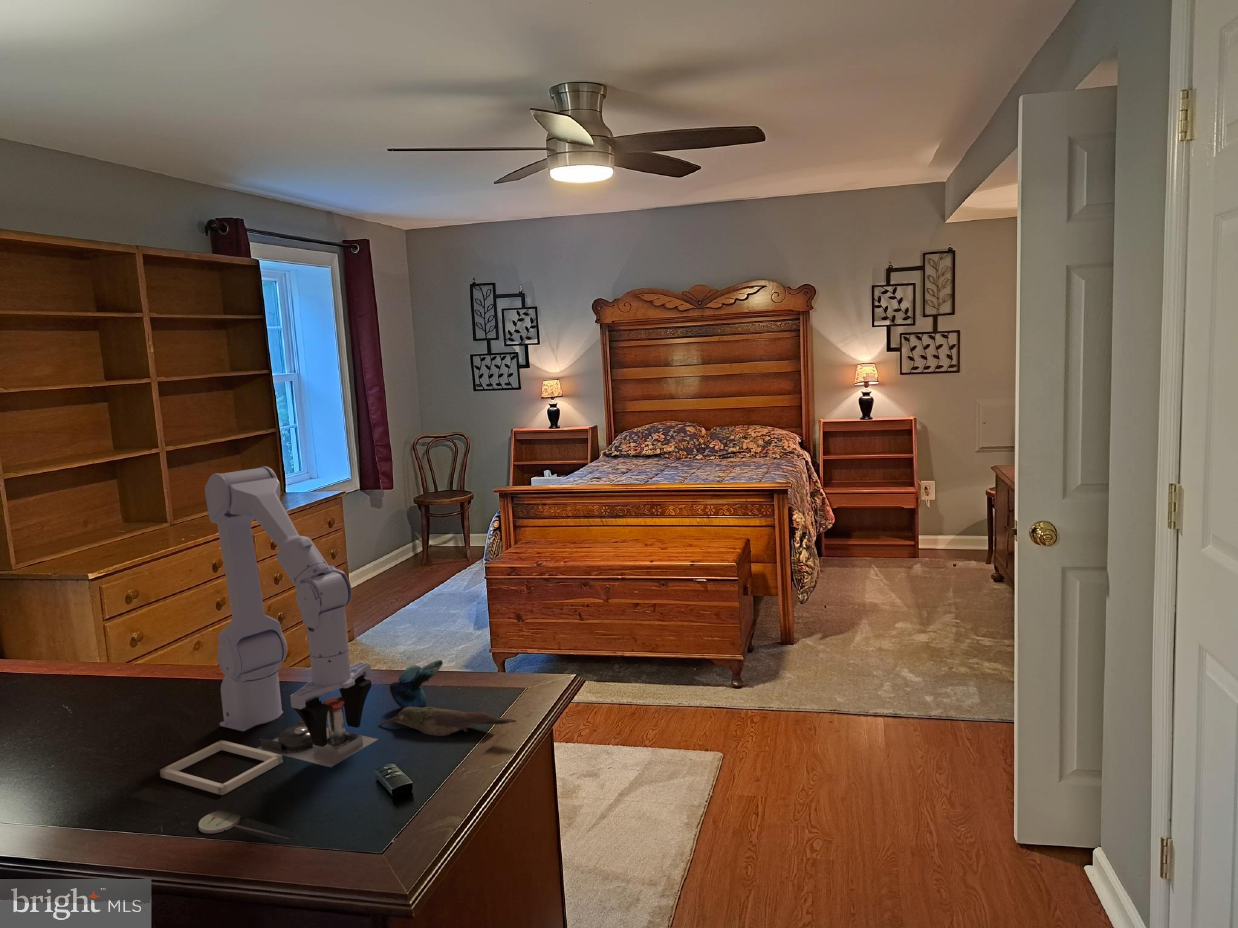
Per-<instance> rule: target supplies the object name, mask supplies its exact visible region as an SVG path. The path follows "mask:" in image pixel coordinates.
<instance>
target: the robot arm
mask: <svg viewBox="0 0 1238 928" xmlns="http://www.w3.org/2000/svg"><path fill="white" fill-rule="evenodd" d="M204 495H205V501H206V507H207V513H208V516H209V521H210V522H211V523H214V524H217V530H218V536H219V543H220V550H221V554H222V555H221V556H222V561H223V568H224V573H225V574H224V575H225V581H226V586H227V591H228V592H227V593H228V599H229V605H230V611H231V617H232V618H231V620H230V621H229V623H227V625H226V626H225V627H224V628H223V629H222V630H221V631H220V632H219V634H218V635H217V640H218V647H217V648H218V650H217V662H218V665H219V669H220V671H221V673H223V675H224V678H223V679H222V682H221V684H220V695H221V706H222V714H223V721H221V722H220V723H219V726H220V727H223V728H228V729H231V730H235V731H239V732H245V731H247V730H249V729H252V728H253V727H256V726H258V725H262V724H263V725H264V724H267V723H269V722H272V721H275V720H276V719H278V718H279V717H281V715H282V714H283V713H284V711H283V710H282V709H283V708H282V700H281V699H282V697H281V690H280V689H281V688H280V680H279V670H280V669H282V667H283V666H282V663H284V662H285V660H286V658H287V655H288V643H287V641H286V638H285V636H284V633H283V631H282V627H281V623H280V621H278V620H277V619H275V618H273V617H271V616H269V615H267V614H265V607H264V600H263V594H262V587H261V582H260V574H259V570H258V561H257V557H256V549H255V543H254V537H253V531H252V524H253V522H254V520H255V521H256V522H257V523H258V524H259V525H260V527H261V528H262V529H263V530H264V531H265V532H266V534H267V535H268V536H269V537H270V538H271V540H272V541H273V543H274V544H275V545H276V546H277V548H278V550H277V553H276V560H277V561H278V562H279V564H280V566H281V567H282V568H283V570H284V571H285V573H286V575H287V577H289V579H290V581H291V583H292V584H293V585H294V588H295V589H296V594H295V599H296V604H297V607H298V609H299V611H300V613H301V619H302V623H303V625H304V626H305V627H306V628H307V629H306V630H307V641H308V651H309V659H310V661H309V662H310V672H311V679H310V681H308V682H307V683H306V684H305V685H303V686H302V687H301V688H300V689H298V690H297V691H296V692H294V693H292V694H290V695H289V696H290V706H291V708H293V710H294V711H295V712H296V713H297V714H298V715H299V716H300V717H299V718H300V719H301V720H303V721H304V723H305V725H306V727H307V729H308V731H309V734H310V736H311V739H312V741H313V744H314V745H317V746H321V747H324V746H325V745H326V743H327V730H326V728H327V723H328V719H327V714H328V710H329V706H330V705H327V704H323V702H322V700H320V699H321V698H323V697H324V696H326V695H328V694H331V693H333V692H335V691H336V690H339V693H340V697H343V698H345V706H344V707H343V710H344V718H345V721H346V725H347V726H348V727H353V728H356V729H357V728H359V727H361V722H362V721H361V720H362V715H363V709H364V706H365V702H366V700H367V697H368V694H369V693H370V690H371V688H372V680H370V679H366V678H367V677H370V676H371V675H372V670H371V663H370V662H369V663H368V662H364V661H360V662H357V663H356V664H353V665H351V658H350V648H349V647H350V645H349V636H348V625H347V615H346V607H347V606H348V605H350V603H351V601H352V597H353V590H352V589H353V588H352V584H351V582H350V580H349V578H348V576H347V574H346V573H345V572H344V571H343V570H341V569H339V568H338V569H337V568H336V567H335V565H329V564H328V562H327V561H326V559H325V558H324V557H323V555H322V553H321V551H319V549H318V548H317V546H316V545H315V543H314V542H313V540H312V539H311V538H310V537H308V536H306V535H305V536H304V535H300V534H299V532H298V531H297V529H296V526H295V525H294V523H293V521H292V519H291V518H290V516H289V514H288V513H287V510H286V509H285V507H284V505H283V504H282V501H281V482H280V481H279V480H278V477H277V474H276V473H275V471H274V470H273V469H272V468H270V467H269V466H267V465H265V466H264V465H263V466H261V467H257V468H250V469H243V470H237V471H231V472H224V473H217V472H216V473H212V474H211V475H210V476H209V478H208V480H207V482H206V485H205V487H204Z"/></svg>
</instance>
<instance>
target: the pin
mask: <svg viewBox="0 0 1238 928" xmlns="http://www.w3.org/2000/svg"><path fill="white" fill-rule="evenodd" d="M322 704H327V705H330V706H329V710H328V714H327V728H328V730H329V740H330V745H333V746H339V745H341V744H343V743H345V742H346V736H345V732H346V726H345V713H344V706H345V698H343V697H342V696H333V697H329V698H326V699H325V700H323V701H322Z"/></svg>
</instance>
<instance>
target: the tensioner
mask: <svg viewBox="0 0 1238 928" xmlns="http://www.w3.org/2000/svg"><path fill="white" fill-rule="evenodd" d="M326 730H327V743H326V745H325V746H324V747H321V746H317V745H314V744H313V741H312V739H311V736H310V734H309V731H308V729H307V727H306V725H305V723H304V721H303V720H302V719H301V720H299V721H297V725H292V726H290V727H287V728H286V729H284V730H282V731H280V732H279V733H278V735H277V737H276V738H273V739H268V738H262V739H261V740H260V743H261V744H260V746H259V747H256V748H255V749H259V750H263V751H267V752H271V753H275V754H279V755H282V757H283V756H284V757H289V758H293V759H296V760H299V761H303V762H308V763H313V764H316V765H320V766H323V767H329V768H333V767H334V766H336V765H337V764H339V763H341V762H342V761H344V760H346V759H347V758H349V757H351V756H353V755H354V754H357V753H358V752H359V751H361V750H363V749H365V748H366V747H368V746H370V745H371V744H373V743H375V742H376V741H378V740H379V739H378V738H374V737H371V736H365V735H361V734H357V733H353V732H350V731H349V732H348V731H345V736H346V742H345V743H343V744H341V745H339V746H333V745H330V740H329V730H328V727H326Z"/></svg>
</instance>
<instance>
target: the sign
mask: <svg viewBox="0 0 1238 928" xmlns="http://www.w3.org/2000/svg"><path fill="white" fill-rule="evenodd" d="M241 819H242V816H241V814H237V813H235V812H231V811H228V810H224V809H220V810H215V811H212V812H211V813H208V814H206V815H205V816H203V817H202V818H200V820H199V822H198V831H200V832H201V833H203V834H217V833H221V832H222V833H223V832H225V831H228V830H230V829H232V828H238V829H243V830H246V831H250V832H251V831H252V832H255V833H260V834H265V835H270V836H273V837H279V838H283V839H287V840H292V839H293V838H292V837H287V836H284V835H280V834H275V833H271V832H268V831H264V830H259V829H255V828H252V827H248V826H243V825H241V824H240V825H239V823H240V822H241ZM224 830H225V831H224Z"/></svg>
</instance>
